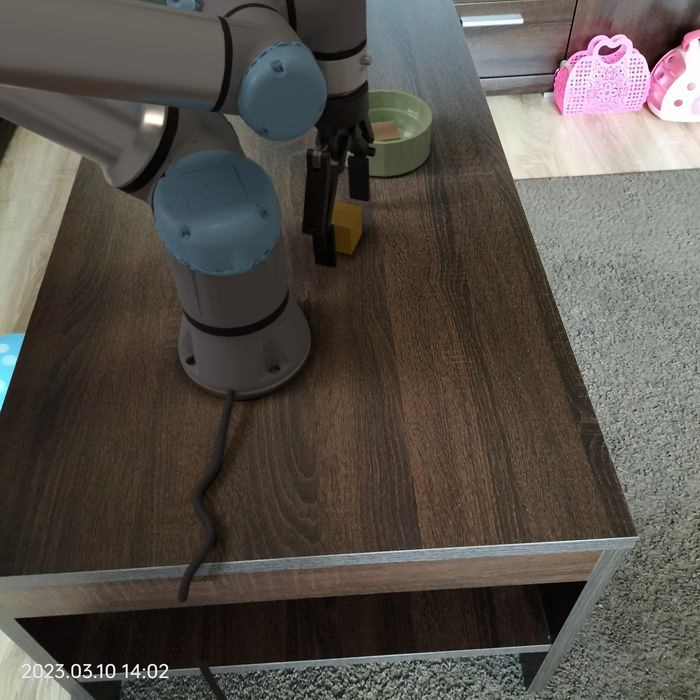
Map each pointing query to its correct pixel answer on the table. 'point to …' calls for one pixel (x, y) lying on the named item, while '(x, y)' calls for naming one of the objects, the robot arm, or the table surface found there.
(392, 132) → the beech block
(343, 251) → the mustard block
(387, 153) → the pale green pet bowl
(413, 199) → the table surface
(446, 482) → the table surface
